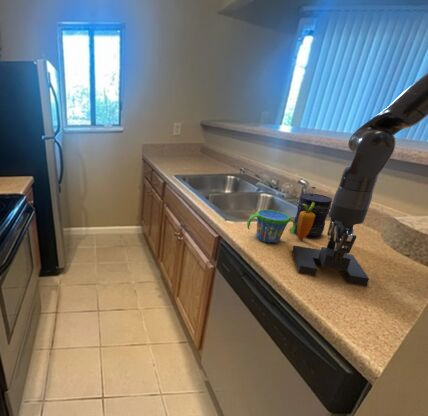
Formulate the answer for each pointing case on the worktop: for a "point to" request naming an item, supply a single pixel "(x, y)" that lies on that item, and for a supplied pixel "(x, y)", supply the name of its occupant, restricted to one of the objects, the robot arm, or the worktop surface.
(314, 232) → the dark blue oil drum
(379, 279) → the worktop surface
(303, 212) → the carrot
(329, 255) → the small block
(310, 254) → the base pad
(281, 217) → the snack cup
